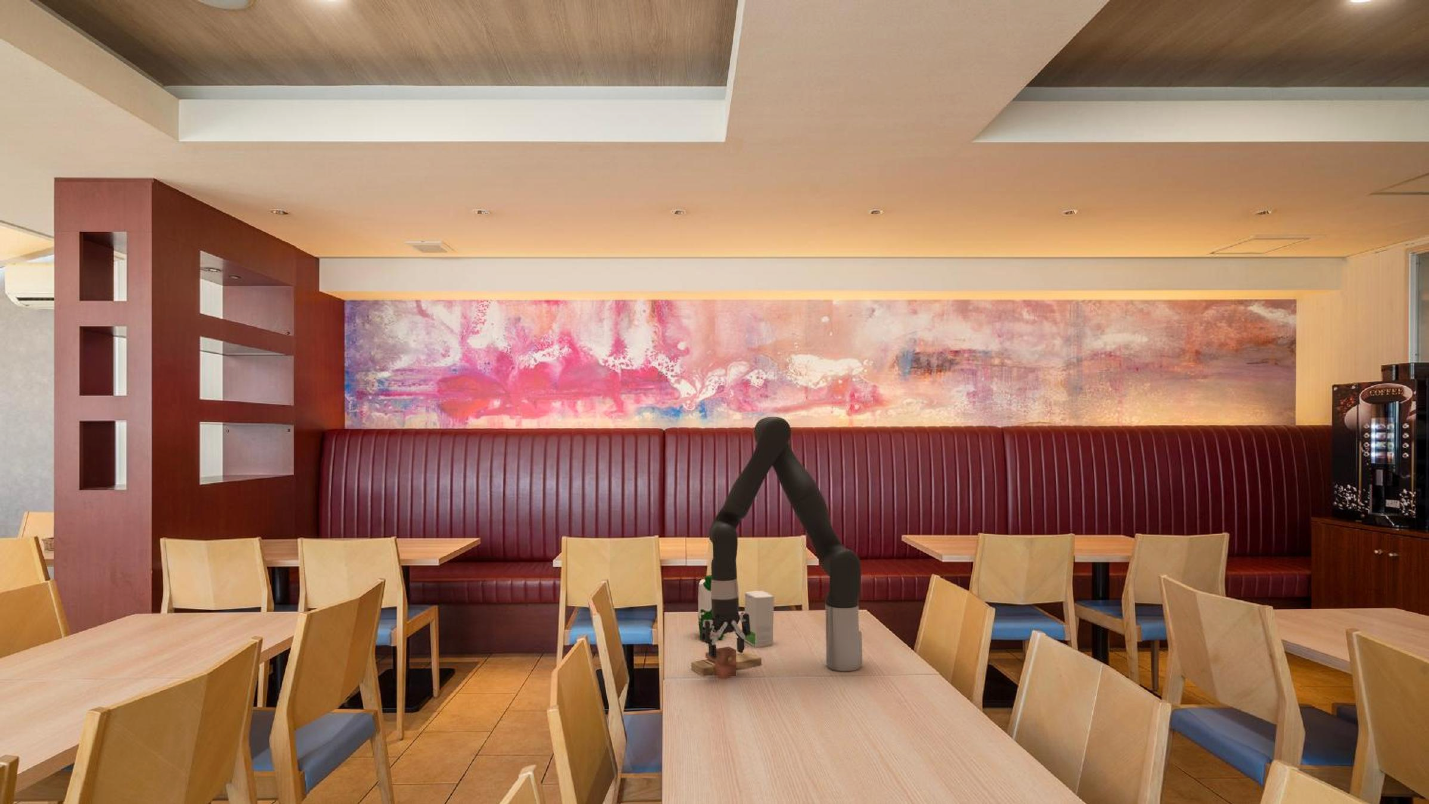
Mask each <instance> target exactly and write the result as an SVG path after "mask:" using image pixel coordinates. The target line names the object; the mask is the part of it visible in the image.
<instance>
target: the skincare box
mask: <svg viewBox="0 0 1429 804" xmlns="http://www.w3.org/2000/svg"><path fill="white" fill-rule="evenodd" d="M774 606H775V596H774V595H772V594H770V593H769V592H767V591H764V590H753V591H745V592H744V613H747V614H749V621H750V632H751V634H750V635H749V636H748V635H747V636H746V637H745V638H744V643H747V644H748V645H750V646H752V647H754V648H755V649H756V648H761V647H763V648H764V647H769V646H770V647H771V646H773V645H774V614H775V612H774V611H775V610H774Z"/></svg>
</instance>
